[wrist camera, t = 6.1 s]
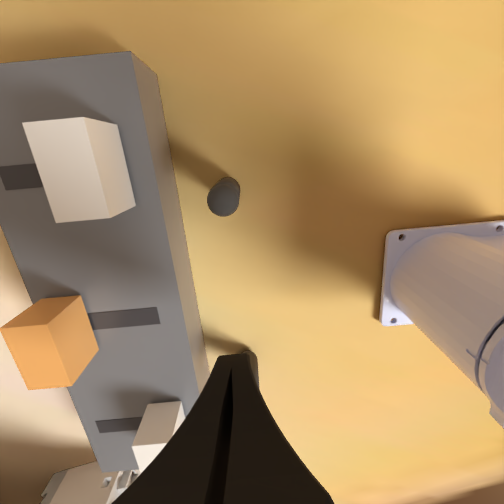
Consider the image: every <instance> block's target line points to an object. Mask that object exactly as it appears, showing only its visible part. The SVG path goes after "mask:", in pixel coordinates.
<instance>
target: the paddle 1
mask: <svg viewBox="0 0 504 504" xmlns="http://www.w3.org/2000/svg"><path fill="white" fill-rule="evenodd" d="M22 124H23V127H24V130H25V133H26V136H27V139H28V142H29V145H30V148H31V151H32V154H33V157H34V160H35V163H36V166H37V169H38V172H39V175H40V178H41V180H42V183H43V186H44V189H45V192H46V195H47V198H48V201H49V204H50V207H51V210H52V213H53V216H54V219H55V222H56V223H62V222H73V221H84V220H95V219H105V218H112V217H114V216H116V215H118V214H120V213H122V212H124V211H126V210H128V209H130V208H132V207H134V206H136V204H135V199H134V195H133V191H132V186H131V182H130V178H129V173H128V169H127V165H126V161H125V156H124V152H123V148H122V143H121V139H120V135H119V130H118V126H117V125H116V124H112V123H108V122H103V121H99V120H95V119H90V118H86V117H77V118H67V119H56V120H46V121H35V122H24V123H22Z"/></svg>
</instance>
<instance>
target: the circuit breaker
mask: <svg viewBox="0 0 504 504" xmlns="http://www.w3.org/2000/svg"><path fill="white" fill-rule="evenodd" d="M132 471H133V472H134V474H133V473H132ZM140 474H141V472H140V470H139V469H138V470H127V471H116V472H104V473H102V471H101V469H100V466H99V464H98V461H95V462H92V463H88V464H85V465H81V466H78V467H74V468H71V469H67V470H64V471H61V472H57V473H55V474H53V476H52V478H51V479H50V481H49V483H48V484H47V486H46V488H45V489H44V491H43V493H42V494H41V496H42V497H43V500H42V501H41V503H40V504H111V503H112V502H113V501H114V500H115V499H116V498H117V497H118V496H120V495H121V494H122V493H123V492H124V491H125V490H126V489H127V488H128V487H129V486H130V485H131V484H132V483H133V482H134V481H135V479H136V478H137V477H138V476H139V475H140Z"/></svg>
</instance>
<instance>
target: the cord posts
mask: <svg viewBox="0 0 504 504" xmlns="http://www.w3.org/2000/svg"><path fill="white" fill-rule="evenodd" d="M239 197H240V186H239V184H238V182H237V181H236V180H235V179H233V178H231V177H225V178H222V179H221V180H219V181H218V183H217V184H216V185H215V186H214V187H213V188H212V189H211V190H210V192H209V194H208V197H207V203H208V206H209V209H210V210H211V211H212V212H213V213H214V214H216V215H218V216H229V215H231V214H232V213H234V212H235V211H236V209H237V207H238V205H239ZM244 353H247V354H248V355H250V364H251V368H252V372H253V375H254V378H255V380H256V383H257V385H258V388H259V377H258V362H257V357H256V355H255V354H254V353H253V352H251V351H244V352H242V353H241V354H244Z"/></svg>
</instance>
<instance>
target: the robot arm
mask: <svg viewBox="0 0 504 504" xmlns="http://www.w3.org/2000/svg"><path fill="white" fill-rule="evenodd" d="M498 226H499V227H498ZM497 227H498V229H497V230H496V228H497ZM401 234H403V237H402V238H401V239H399V236H400V235H401ZM392 318H394V319H393V320H392V321H391V319H392ZM379 321H380V323H381V324H382V325H383V326H395V325H406V324H415V325H416V326H417V327H418V328H419V329H420V330H421V331H422V332H423V333H424V334H425V335H426V336H427V337H428V338H429V339H430V340H431V341H432V342H433V343H434V344H435V345H436V346H437V347H438V348H439V349H440V350H441V351H442V352H443V353H444V354H445V355H446V356H447V357H448V358H449V359H450V360H451V361H452V362H453V363H454V364H455V365H456V366H457V367H458V368H459V369H460V370H461V371H462V372H463V373H464V374H465V375H466V376H467V377H468V378H469V379H470V380H471V381H472V382H473V383H474V384H475V385H476V386H477V387H478V388H479V389H480V390H481V391H482V392H483V393H484V394H485V395H486V396H487V397H488V399H489V401H490V404H491V408H490V412H489V414H490V415H491V416H492V417H493V418H494V419H495V420H496V421H497V422H498V423H499V424H500V425H501V426H502V428H503V429H504V220H499V221H488V222H477V223H466V224H455V225H444V226H433V227H423V228H412V229H401V230H392V231H390V232H388V234H387V235H386V243H385V255H384V267H383V279H382V292H381V304H380V316H379ZM111 504H334V502H333V500H332V498H331V496H330V495H329V493H328V492H327V491H326V490H325V489H324V487H323V486H322V485H321V484H320V483H319V482H318V480H317V479H316V478H315V477H314V476H313V475H312V473H311V472H310V471H309V470H308V468H307V467H306V466H305V464H304V463H303V462H302V461H301V459H300V458H299V457H298V455H297V454H296V452H295V451H294V449H293V448H292V447H291V445H290V444H289V442H288V441H287V440H286V438H285V437H284V435H283V433H282V432H281V430H280V429H279V427H278V425H277V424H276V422H275V420H274V418H273V417H272V415H271V413H270V411H269V409H268V407H267V405H266V403H265V401H264V399H263V397H262V395H261V393H260V390H259V388H258V385H257V383H256V380H255V378H254V375H253V372H252V368H251V364H250V355H248V354H247V353H244V354H233V355H222V356H219V357H218V358H217V361H216V363H215V365H214V368H213V370H212V372H211V374H210V376H209V378H208V380H207V382H206V384H205V386H204V388H203V390H202V392H201V393H200V395H199V397H198V399H197V400H196V402H195V404H194V405H193V407H192V408H191V410H190V412H189V413H188V415H187V416H186V418H185V419H184V421H183V422H182V424H181V425H180V427H179V428H178V429H177V431H176V432H175V433H174V435H173V436H172V437H171V439H170V440H169V441H168V443H167V444H166V445H165V446H164V448H163V449H162V450H161V451H160V453H159V454H158V455H157V456H156V457H155V459H154V460H153V461H152V462H151V463H150V464H149V465H148V466H147V467H146V468H145V470H144V471H143V472H142V473H141V474H140V475H139V476H138V477H137V478H136V479H135V481H134V482H133V483H132V484H131V485H130V486H129V487H128V488H127V489H126V490H125V491H124V492H123V493H122V494H121V495H120V496H118V497H117V498H116V499H115V500H114V501H113V502H112V503H111Z"/></svg>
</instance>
